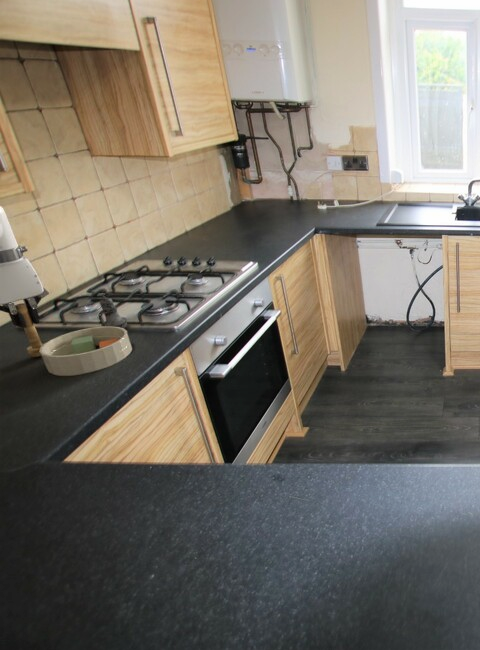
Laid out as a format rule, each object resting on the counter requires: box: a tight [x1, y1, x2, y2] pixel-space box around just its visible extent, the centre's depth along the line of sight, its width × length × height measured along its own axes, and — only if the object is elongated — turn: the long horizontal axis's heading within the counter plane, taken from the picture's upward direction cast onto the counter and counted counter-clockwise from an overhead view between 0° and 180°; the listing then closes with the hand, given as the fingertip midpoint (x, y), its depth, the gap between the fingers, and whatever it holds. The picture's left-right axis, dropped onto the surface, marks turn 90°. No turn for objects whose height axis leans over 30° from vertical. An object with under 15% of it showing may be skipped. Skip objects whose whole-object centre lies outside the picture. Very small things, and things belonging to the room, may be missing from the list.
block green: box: [72, 335, 97, 354], centre depth 125 cm, size 4×4×4 cm
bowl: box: [39, 326, 133, 377], centre depth 123 cm, size 17×17×6 cm
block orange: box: [98, 338, 119, 349], centre depth 124 cm, size 4×4×4 cm
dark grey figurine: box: [99, 295, 128, 329], centre depth 136 cm, size 6×6×12 cm
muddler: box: [15, 302, 46, 358], centre depth 122 cm, size 4×4×14 cm
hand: (28, 324), depth 121 cm, fingers closed on muddler, 2 cm apart
